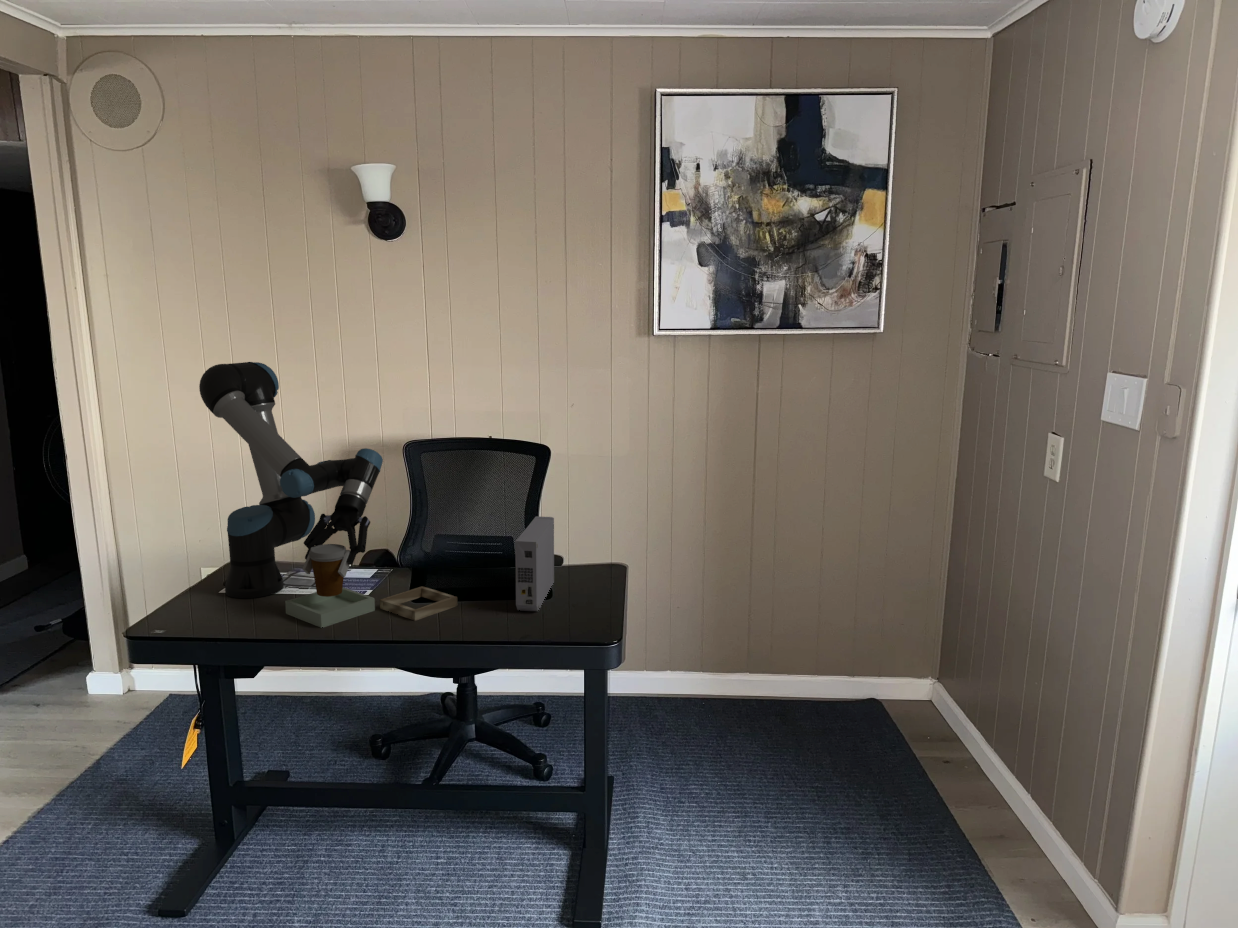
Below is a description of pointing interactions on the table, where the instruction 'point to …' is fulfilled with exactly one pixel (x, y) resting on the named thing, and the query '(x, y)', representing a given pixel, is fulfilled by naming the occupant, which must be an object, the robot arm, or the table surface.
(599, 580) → the table surface
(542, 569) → the game console
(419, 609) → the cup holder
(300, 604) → the tray
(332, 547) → the disposable coffee cup
